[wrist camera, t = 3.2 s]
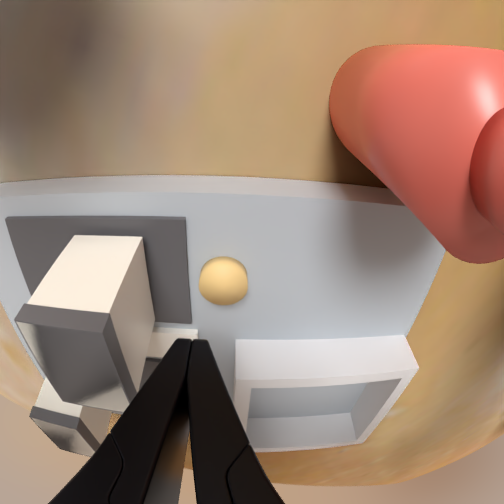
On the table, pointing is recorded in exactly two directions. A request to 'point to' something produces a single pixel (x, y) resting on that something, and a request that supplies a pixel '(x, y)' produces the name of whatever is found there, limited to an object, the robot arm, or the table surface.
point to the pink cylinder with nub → (431, 136)
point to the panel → (244, 292)
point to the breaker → (92, 321)
